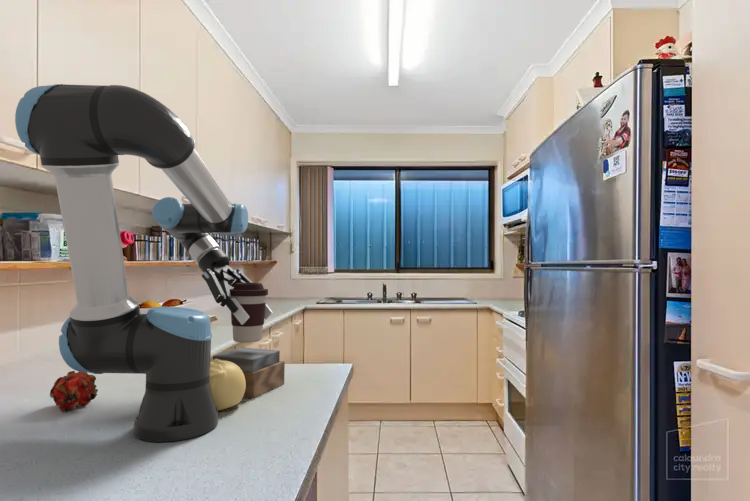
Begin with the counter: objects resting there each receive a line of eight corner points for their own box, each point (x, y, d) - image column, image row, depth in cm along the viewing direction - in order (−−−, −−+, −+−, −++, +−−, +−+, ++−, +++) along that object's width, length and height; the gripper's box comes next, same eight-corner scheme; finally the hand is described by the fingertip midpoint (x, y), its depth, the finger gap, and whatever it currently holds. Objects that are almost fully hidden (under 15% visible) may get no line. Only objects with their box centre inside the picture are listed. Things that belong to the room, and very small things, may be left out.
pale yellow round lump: (181, 405, 100) (183, 358, 100) (233, 396, 108) (234, 351, 108) (198, 420, 91) (200, 367, 92) (253, 408, 99) (254, 360, 99)
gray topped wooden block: (253, 398, 106) (254, 361, 106) (206, 392, 110) (206, 356, 111) (284, 383, 119) (284, 350, 119) (240, 378, 123) (241, 346, 124)
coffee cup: (243, 345, 108) (244, 284, 109) (219, 340, 114) (221, 283, 115) (274, 340, 116) (276, 283, 117) (251, 336, 122) (252, 282, 123)
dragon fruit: (82, 405, 104) (73, 430, 93) (47, 388, 101) (33, 412, 90) (107, 375, 106) (101, 396, 95) (73, 357, 102) (62, 377, 91)
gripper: (228, 266, 131) (272, 322, 126) (170, 267, 110) (220, 334, 105) (243, 248, 130) (289, 304, 124) (187, 245, 109) (239, 313, 103)
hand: (258, 318), depth 114 cm, fingers closed on coffee cup, 10 cm apart
